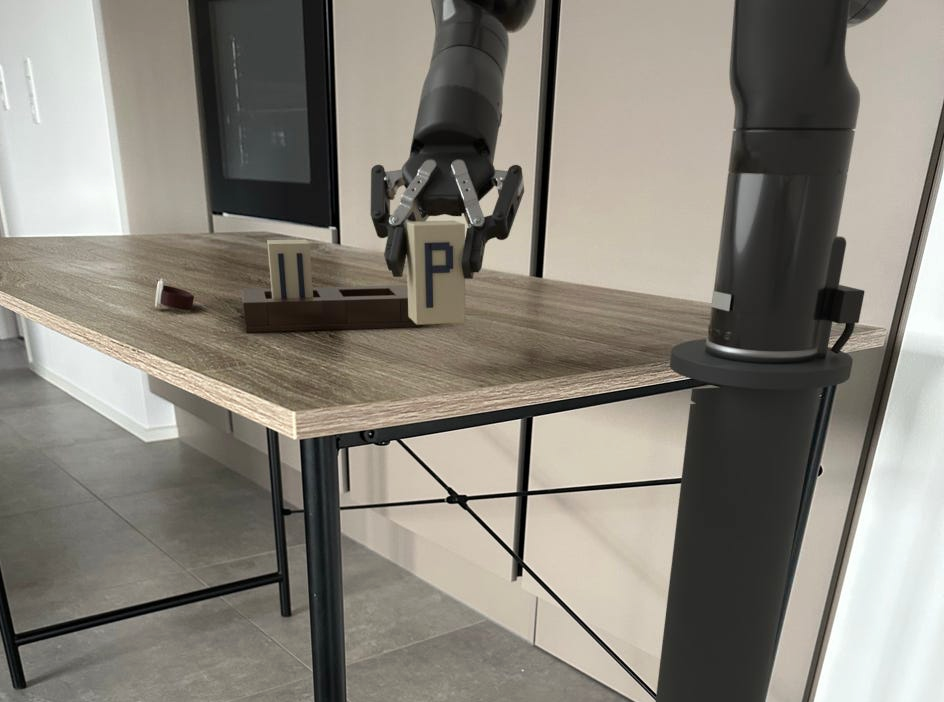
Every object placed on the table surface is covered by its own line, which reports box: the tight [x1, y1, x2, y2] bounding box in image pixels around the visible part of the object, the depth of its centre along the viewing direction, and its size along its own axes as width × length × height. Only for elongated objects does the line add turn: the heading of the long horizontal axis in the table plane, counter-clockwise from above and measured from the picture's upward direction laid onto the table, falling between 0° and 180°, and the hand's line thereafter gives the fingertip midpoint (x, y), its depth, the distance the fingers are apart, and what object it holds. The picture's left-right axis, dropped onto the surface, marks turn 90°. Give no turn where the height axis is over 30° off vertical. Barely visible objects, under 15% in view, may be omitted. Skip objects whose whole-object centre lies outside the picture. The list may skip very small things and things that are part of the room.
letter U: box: [266, 239, 314, 299], centre depth 105 cm, size 4×5×8 cm
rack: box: [241, 284, 424, 333], centre depth 107 cm, size 20×11×3 cm, turn 102°
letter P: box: [406, 220, 466, 325], centre depth 82 cm, size 4×5×8 cm
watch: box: [154, 277, 195, 311], centre depth 115 cm, size 8×5×4 cm, turn 20°
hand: (431, 271), depth 81 cm, fingers closed on letter P, 5 cm apart
